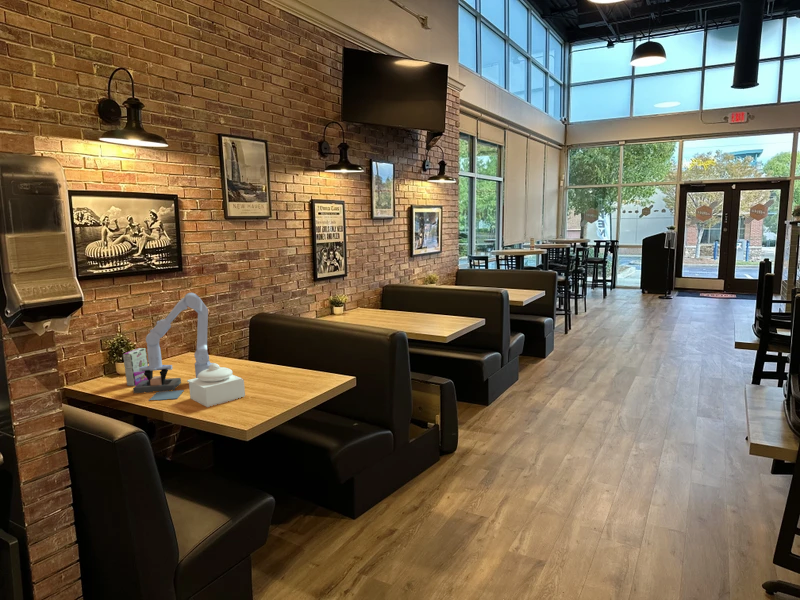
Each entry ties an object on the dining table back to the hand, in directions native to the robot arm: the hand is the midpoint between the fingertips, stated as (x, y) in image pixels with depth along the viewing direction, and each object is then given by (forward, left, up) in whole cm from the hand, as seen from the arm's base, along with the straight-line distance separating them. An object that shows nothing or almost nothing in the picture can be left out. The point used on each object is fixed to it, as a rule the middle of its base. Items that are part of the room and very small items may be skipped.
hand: (157, 385), depth 254 cm
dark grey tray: (0, 0, -1) cm, 1 cm away
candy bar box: (+13, -12, -2) cm, 18 cm away
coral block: (0, 0, -1) cm, 1 cm away
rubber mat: (-8, +14, -1) cm, 16 cm away
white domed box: (-32, +23, -2) cm, 39 cm away
